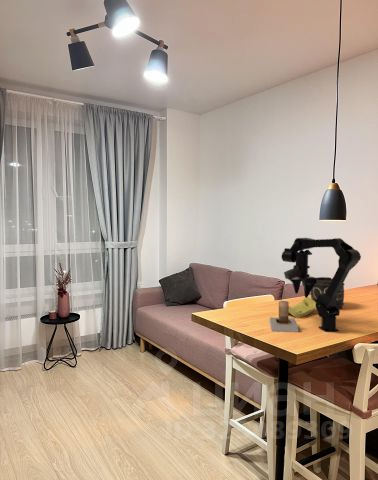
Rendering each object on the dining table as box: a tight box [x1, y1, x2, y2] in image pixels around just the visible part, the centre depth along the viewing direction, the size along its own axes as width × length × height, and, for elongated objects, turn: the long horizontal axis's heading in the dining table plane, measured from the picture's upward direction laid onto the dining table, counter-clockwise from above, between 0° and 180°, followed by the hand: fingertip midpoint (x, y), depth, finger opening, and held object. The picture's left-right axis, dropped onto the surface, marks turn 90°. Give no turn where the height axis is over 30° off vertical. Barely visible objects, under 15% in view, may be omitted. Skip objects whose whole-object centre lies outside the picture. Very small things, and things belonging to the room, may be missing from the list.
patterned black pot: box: [310, 276, 345, 311], centre depth 207 cm, size 18×18×16 cm
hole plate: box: [269, 317, 299, 333], centre depth 168 cm, size 12×12×3 cm
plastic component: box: [289, 296, 316, 319], centre depth 193 cm, size 20×7×10 cm
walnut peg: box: [278, 300, 290, 323], centre depth 168 cm, size 4×4×12 cm
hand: (301, 295), depth 177 cm, fingers open, 9 cm apart
